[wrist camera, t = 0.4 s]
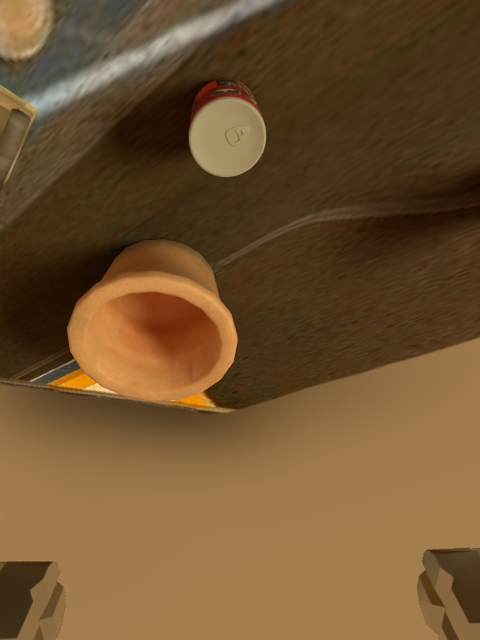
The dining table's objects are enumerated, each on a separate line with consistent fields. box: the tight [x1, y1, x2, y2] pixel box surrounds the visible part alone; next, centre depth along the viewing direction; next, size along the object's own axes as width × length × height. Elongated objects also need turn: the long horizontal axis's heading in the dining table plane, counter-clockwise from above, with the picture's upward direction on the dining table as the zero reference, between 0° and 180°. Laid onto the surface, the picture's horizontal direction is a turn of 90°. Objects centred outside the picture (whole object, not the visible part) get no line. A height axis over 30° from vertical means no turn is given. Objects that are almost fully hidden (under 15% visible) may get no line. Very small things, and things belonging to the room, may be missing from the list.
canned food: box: [189, 79, 266, 177], centre depth 47 cm, size 8×8×11 cm
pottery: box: [67, 239, 237, 401], centre depth 61 cm, size 22×22×14 cm
